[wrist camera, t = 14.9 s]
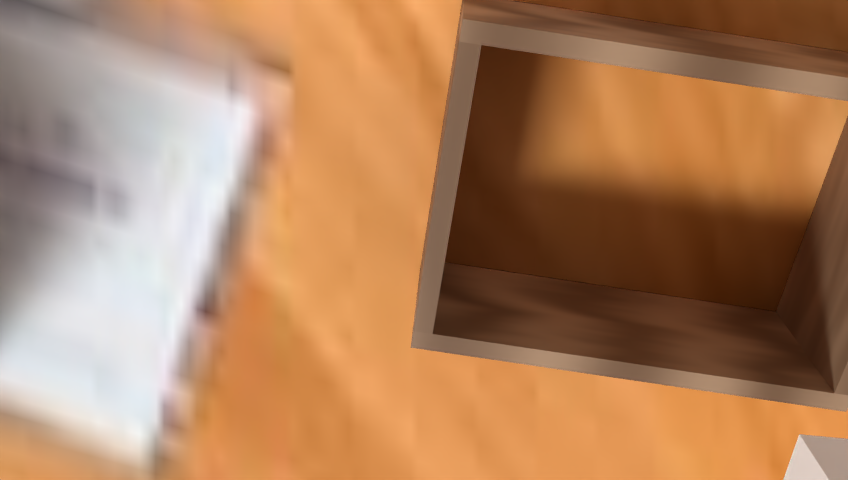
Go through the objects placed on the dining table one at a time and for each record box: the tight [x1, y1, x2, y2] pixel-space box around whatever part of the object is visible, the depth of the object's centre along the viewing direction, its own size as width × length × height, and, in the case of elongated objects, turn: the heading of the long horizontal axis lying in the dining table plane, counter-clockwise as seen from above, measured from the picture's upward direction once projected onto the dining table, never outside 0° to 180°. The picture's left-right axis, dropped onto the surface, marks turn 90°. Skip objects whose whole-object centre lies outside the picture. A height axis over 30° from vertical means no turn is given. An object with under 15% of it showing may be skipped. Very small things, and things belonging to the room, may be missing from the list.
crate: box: [411, 0, 848, 412], centre depth 34 cm, size 19×14×7 cm
